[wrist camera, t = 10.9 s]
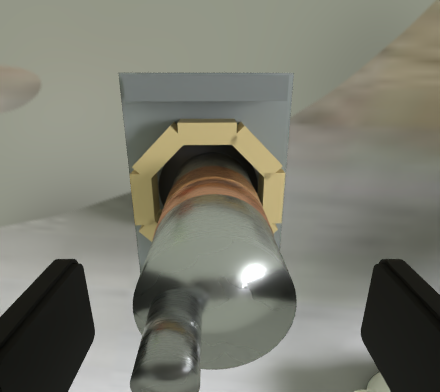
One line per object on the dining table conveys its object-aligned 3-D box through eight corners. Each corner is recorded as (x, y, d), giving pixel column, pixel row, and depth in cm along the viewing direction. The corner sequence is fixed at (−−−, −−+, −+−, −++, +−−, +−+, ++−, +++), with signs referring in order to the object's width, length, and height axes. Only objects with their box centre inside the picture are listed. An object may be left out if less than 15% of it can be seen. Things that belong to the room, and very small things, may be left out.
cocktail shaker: (252, 150, 19) (340, 289, 6) (250, 224, 20) (314, 448, 8) (170, 151, 19) (87, 296, 6) (175, 226, 20) (120, 456, 8)
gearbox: (268, 76, 25) (310, 70, 14) (260, 228, 30) (287, 305, 19) (146, 76, 24) (100, 70, 14) (158, 230, 29) (131, 309, 19)
